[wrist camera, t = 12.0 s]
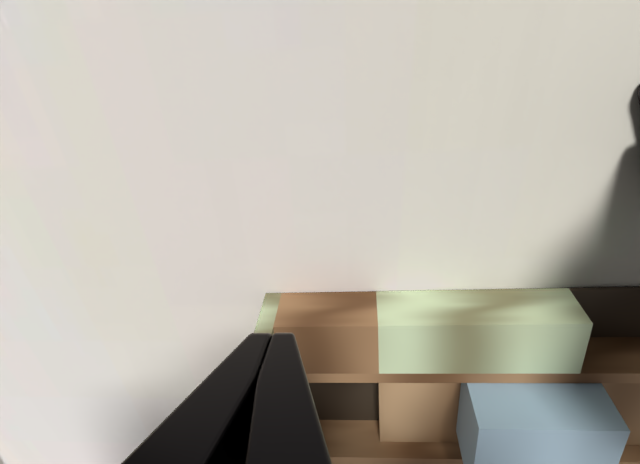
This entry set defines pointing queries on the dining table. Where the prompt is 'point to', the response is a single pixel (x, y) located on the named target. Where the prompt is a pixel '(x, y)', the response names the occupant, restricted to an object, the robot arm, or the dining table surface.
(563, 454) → the block
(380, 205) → the dining table surface
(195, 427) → the robot arm
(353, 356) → the tray
